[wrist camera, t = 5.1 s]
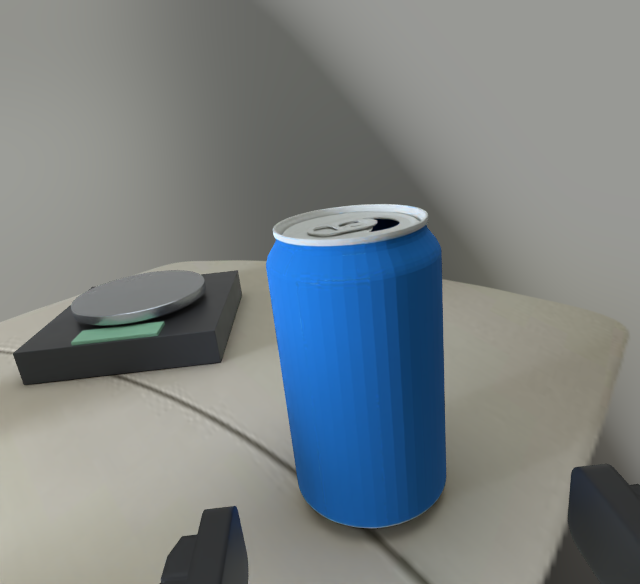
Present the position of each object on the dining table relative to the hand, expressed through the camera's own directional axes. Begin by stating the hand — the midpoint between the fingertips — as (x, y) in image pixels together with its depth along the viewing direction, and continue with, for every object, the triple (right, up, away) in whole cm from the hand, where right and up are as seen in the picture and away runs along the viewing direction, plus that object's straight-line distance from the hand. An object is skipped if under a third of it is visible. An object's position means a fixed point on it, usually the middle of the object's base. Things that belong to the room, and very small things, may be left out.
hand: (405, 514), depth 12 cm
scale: (-16, +2, +30) cm, 34 cm away
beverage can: (0, -3, +10) cm, 11 cm away
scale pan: (-17, +5, +29) cm, 33 cm away
